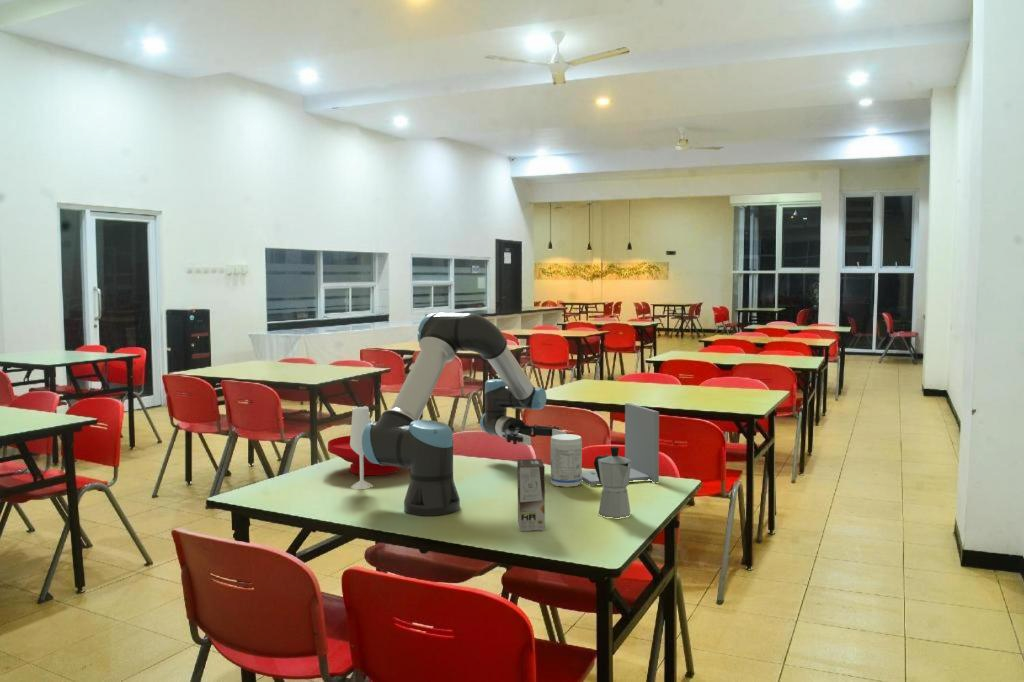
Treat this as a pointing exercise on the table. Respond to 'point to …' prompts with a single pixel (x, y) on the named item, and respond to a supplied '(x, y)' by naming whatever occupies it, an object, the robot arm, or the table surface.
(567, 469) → the supplement tub
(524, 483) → the coffee box
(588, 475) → the socket stand
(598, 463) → the coffee maker
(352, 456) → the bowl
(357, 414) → the champagne flute
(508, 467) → the table surface
